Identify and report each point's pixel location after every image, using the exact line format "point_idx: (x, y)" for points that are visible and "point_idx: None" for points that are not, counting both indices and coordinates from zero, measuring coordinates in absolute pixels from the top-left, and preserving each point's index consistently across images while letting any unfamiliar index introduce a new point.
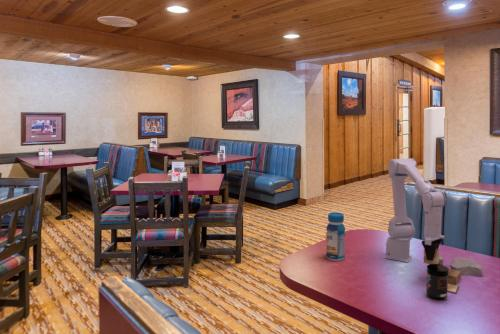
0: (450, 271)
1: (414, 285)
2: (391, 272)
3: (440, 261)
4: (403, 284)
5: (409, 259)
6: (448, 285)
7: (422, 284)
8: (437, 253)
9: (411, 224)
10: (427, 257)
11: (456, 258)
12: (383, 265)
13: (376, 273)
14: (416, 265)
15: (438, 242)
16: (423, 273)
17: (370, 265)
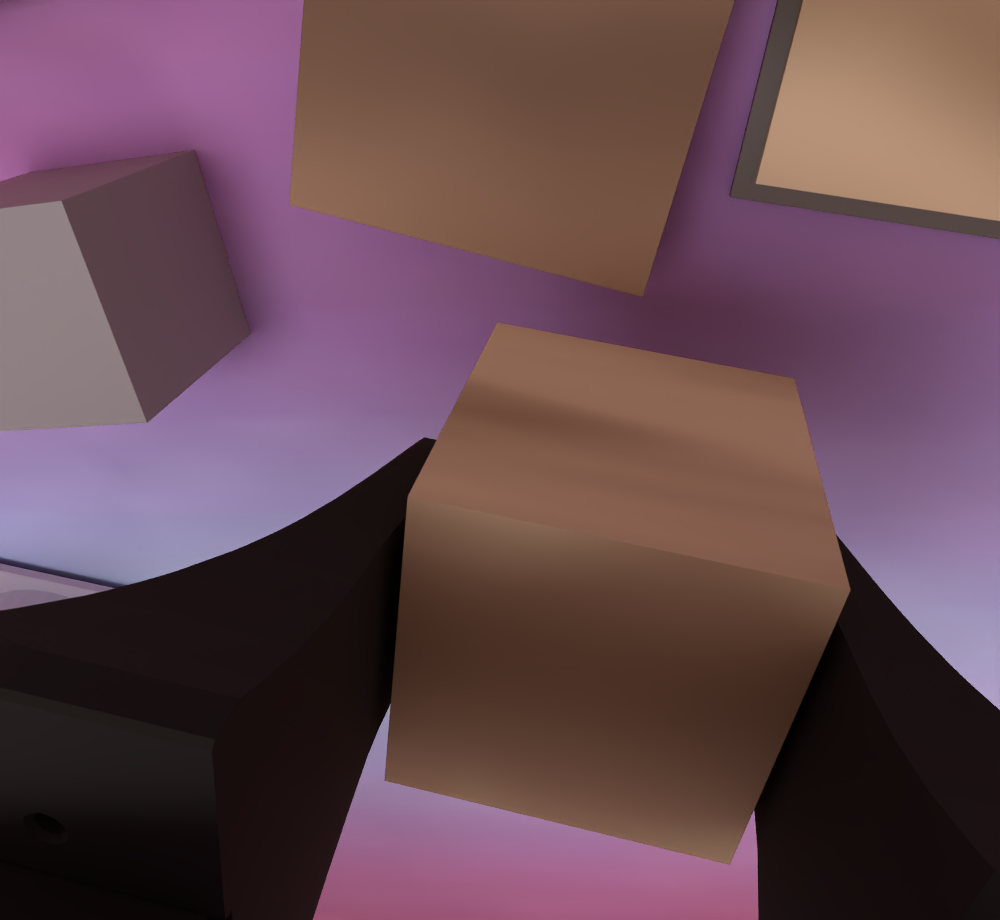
0: (468, 11)
1: (971, 529)
2: None
3: (106, 236)
4: (970, 648)
5: (78, 588)
6: (894, 22)
7: (898, 431)
8: (726, 525)
9: None
10: None
11: None
12: (418, 809)
13: (698, 870)
14: (193, 502)
15: (301, 704)
16: (441, 419)
17: (487, 903)
